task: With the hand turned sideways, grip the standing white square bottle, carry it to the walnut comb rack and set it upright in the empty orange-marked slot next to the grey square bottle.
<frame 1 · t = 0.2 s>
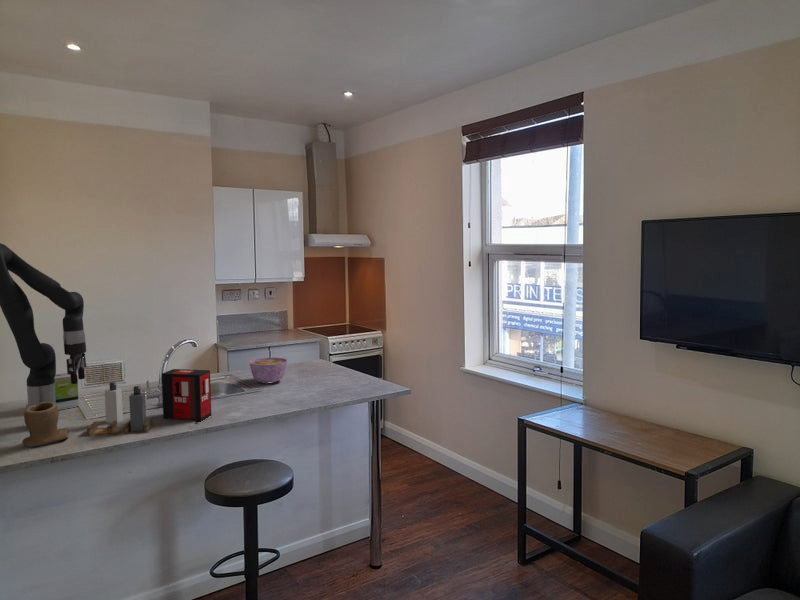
hand: (78, 381, 217), 18 cm above the countertop, tool pointing down, fingers open, 8 cm apart
bowl of food: (268, 382, 289), on the countertop
grey square bottle: (138, 429, 209), point 1 cm above the countertop, touching comb rack
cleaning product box: (187, 419, 226), on the countertop
tea box: (57, 408, 240), on the countertop
stone cup: (48, 443, 197), on the countertop
comb rack: (120, 433, 208), on the countertop
white square bottle: (114, 423, 219), on the countertop
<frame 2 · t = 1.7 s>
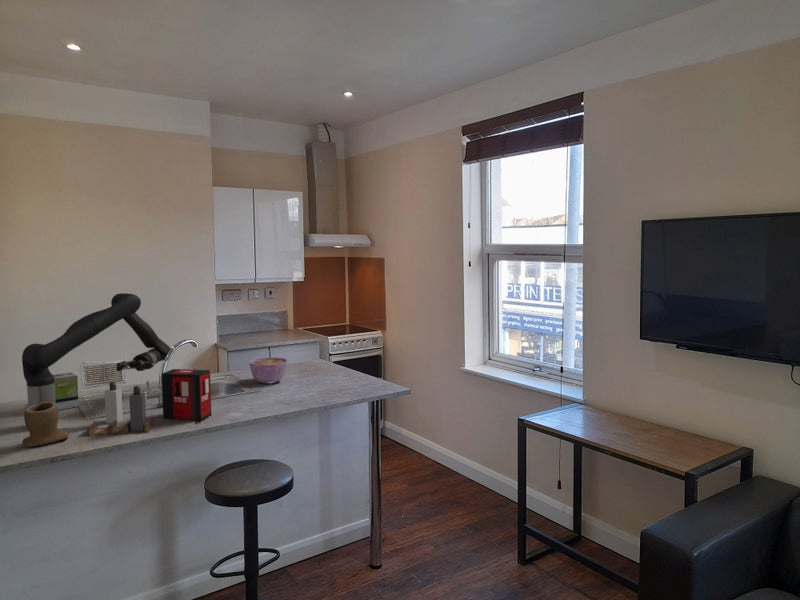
hand: (127, 368, 231), 20 cm above the countertop, tool horizontal, fingers open, 8 cm apart
nothing on the countertop moved.
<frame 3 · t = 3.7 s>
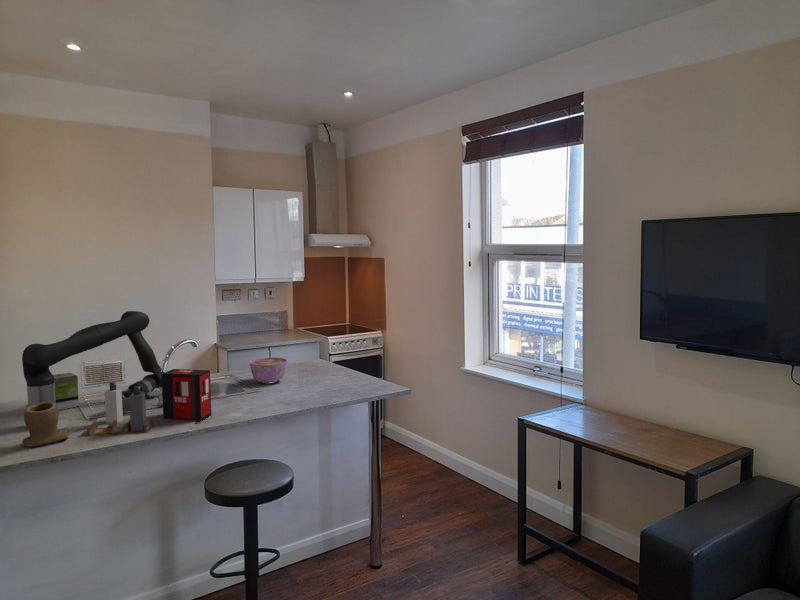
hand: (122, 399, 226), 8 cm above the countertop, tool horizontal, fingers open, 8 cm apart
nothing on the countertop moved.
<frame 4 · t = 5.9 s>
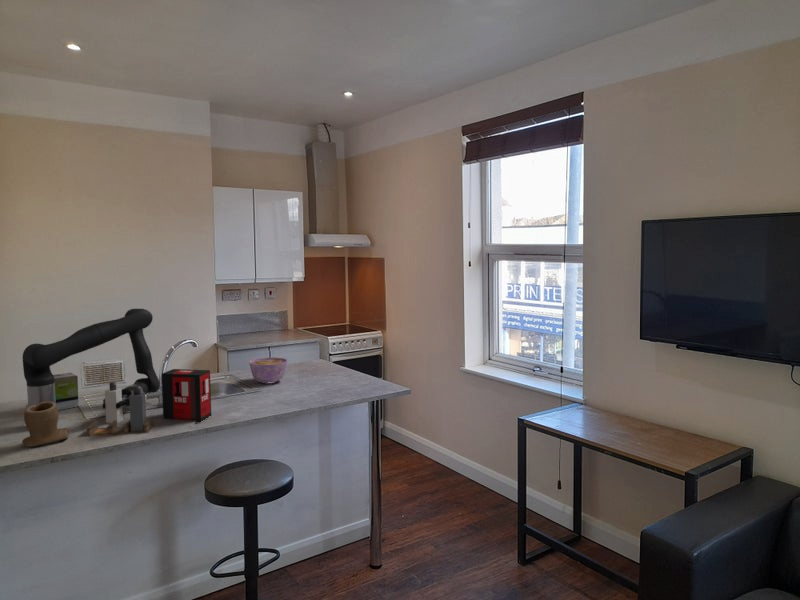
hand: (110, 406, 216), 8 cm above the countertop, tool horizontal, fingers closed on white square bottle, 4 cm apart
white square bottle: (114, 423, 219), on the countertop, touching gripper
everything else where it was.
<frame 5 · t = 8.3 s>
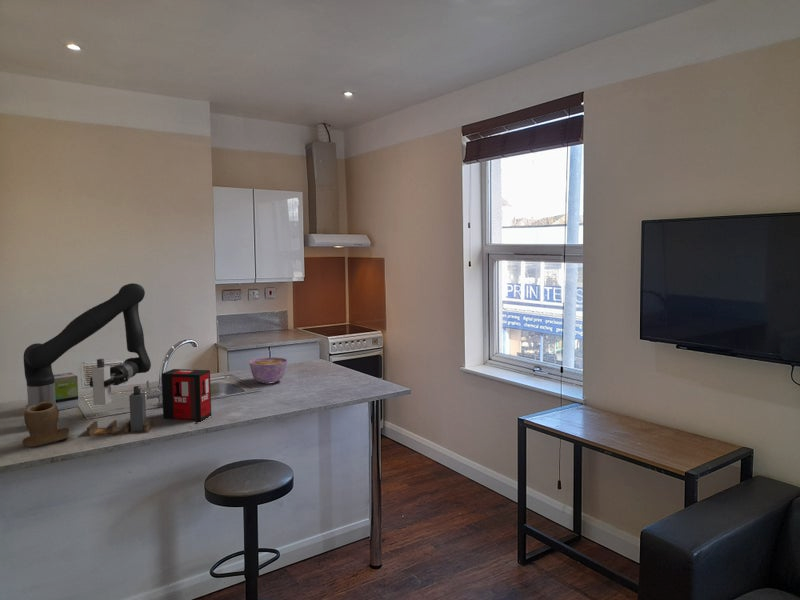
hand: (98, 384, 203), 20 cm above the countertop, tool horizontal, fingers closed on white square bottle, 4 cm apart
white square bottle: (102, 402, 207), point 12 cm above the countertop, touching gripper
everything else where it was.
when the fingers open (11 cm above the countertop, at t = 10.6 s): white square bottle drops 1 cm, resting on comb rack.
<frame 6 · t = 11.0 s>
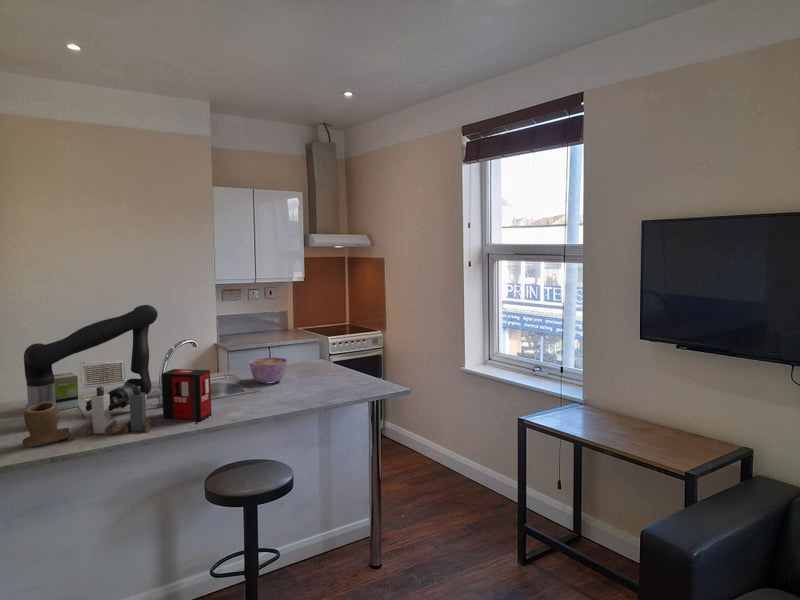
hand: (98, 408, 203), 11 cm above the countertop, tool horizontal, fingers open, 8 cm apart
white square bottle: (102, 431, 206), point 1 cm above the countertop, touching comb rack
everything else where it was.
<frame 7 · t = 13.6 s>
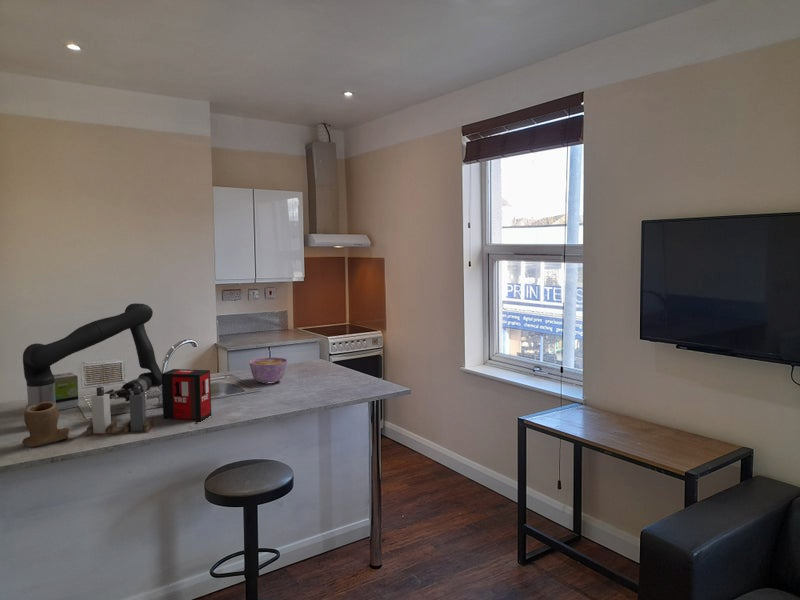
hand: (115, 399, 216), 11 cm above the countertop, tool horizontal, fingers open, 8 cm apart
nothing on the countertop moved.
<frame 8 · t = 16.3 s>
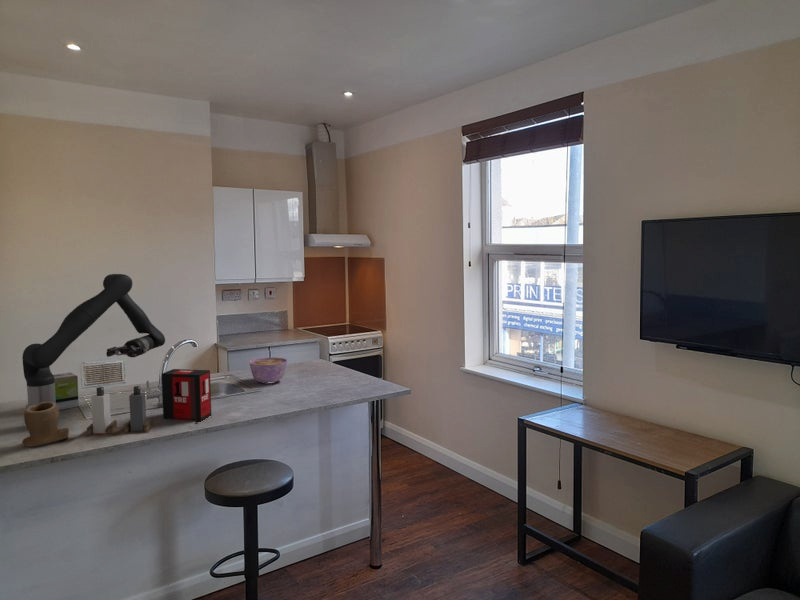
hand: (118, 354, 220), 28 cm above the countertop, tool horizontal, fingers open, 8 cm apart
nothing on the countertop moved.
at the end: white square bottle 0.1 cm from the target spot on the comb rack, point 1.2 cm above the comb rack's base; white square bottle tilted 0°; grey square bottle moved 0.0 cm from its start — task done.
